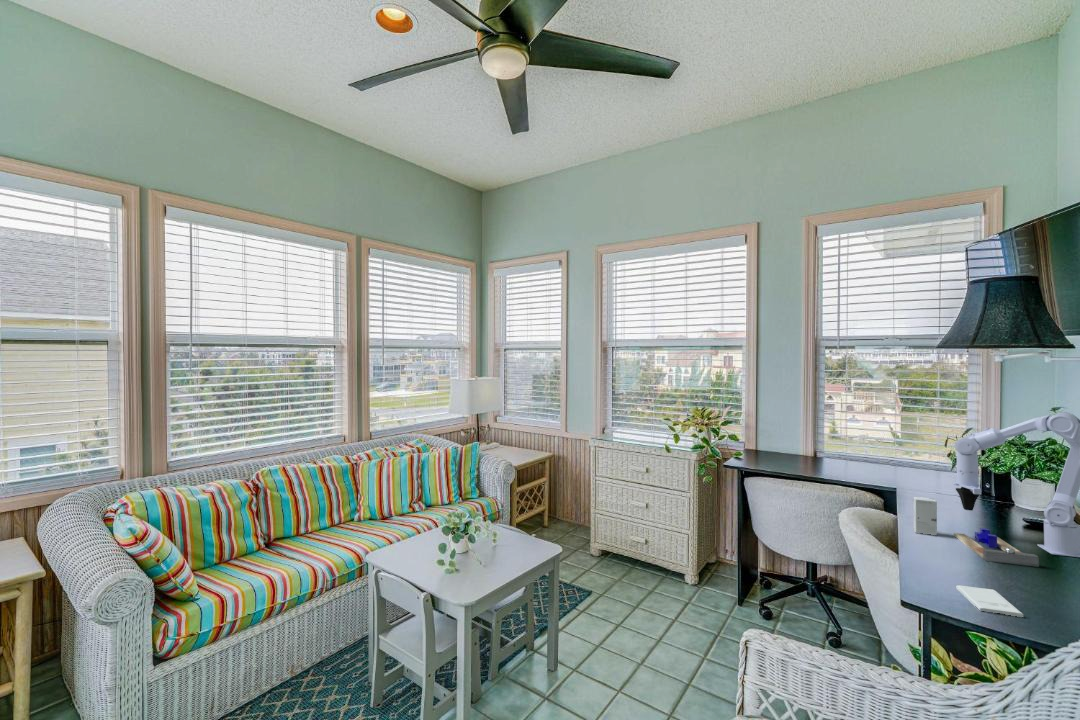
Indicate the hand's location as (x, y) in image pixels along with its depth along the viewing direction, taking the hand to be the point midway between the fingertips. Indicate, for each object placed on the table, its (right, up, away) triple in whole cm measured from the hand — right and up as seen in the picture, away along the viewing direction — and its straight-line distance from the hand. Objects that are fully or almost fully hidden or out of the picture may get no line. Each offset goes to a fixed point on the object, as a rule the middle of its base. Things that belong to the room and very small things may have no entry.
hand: (968, 509), depth 167 cm
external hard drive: (-39, -9, -48) cm, 62 cm away
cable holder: (-3, -9, -10) cm, 13 cm away
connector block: (-10, -8, -25) cm, 28 cm away
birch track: (-6, -8, -15) cm, 18 cm away
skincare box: (-15, -9, +1) cm, 17 cm away
